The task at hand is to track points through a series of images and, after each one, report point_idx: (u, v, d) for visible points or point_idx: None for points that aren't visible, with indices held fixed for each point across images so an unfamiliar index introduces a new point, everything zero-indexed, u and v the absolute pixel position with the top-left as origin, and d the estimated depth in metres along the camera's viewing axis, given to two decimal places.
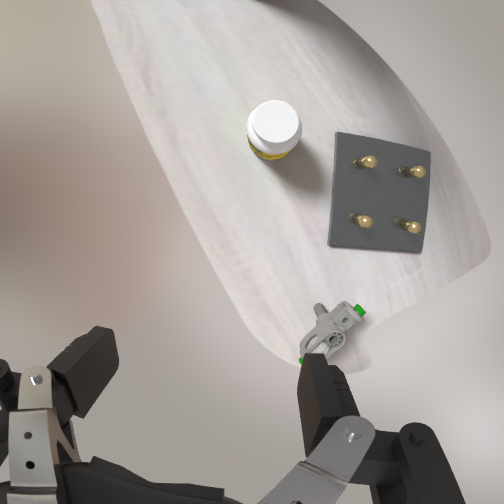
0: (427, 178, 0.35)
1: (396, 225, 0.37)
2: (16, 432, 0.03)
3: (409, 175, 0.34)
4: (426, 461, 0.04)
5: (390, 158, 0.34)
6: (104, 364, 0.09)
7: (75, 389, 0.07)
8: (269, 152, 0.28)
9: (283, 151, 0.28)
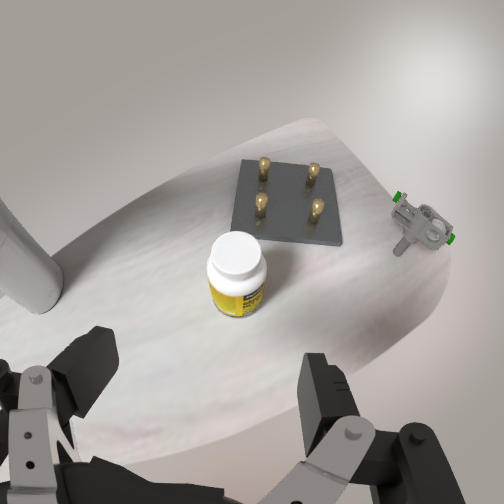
0: None
1: (313, 188, 0.44)
2: (16, 432, 0.03)
3: (267, 174, 0.44)
4: (426, 461, 0.04)
5: (253, 190, 0.43)
6: (104, 364, 0.09)
7: (75, 389, 0.07)
8: (265, 272, 0.27)
9: (264, 258, 0.28)
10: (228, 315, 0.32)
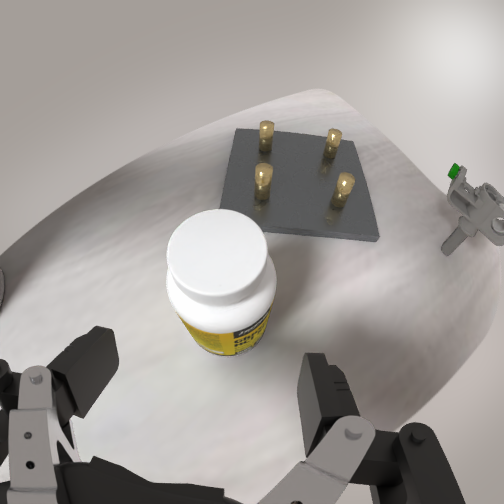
0: None
1: (333, 163, 0.31)
2: (16, 432, 0.03)
3: (270, 144, 0.31)
4: (426, 461, 0.04)
5: (251, 165, 0.30)
6: (104, 364, 0.09)
7: (75, 389, 0.07)
8: (275, 286, 0.15)
9: (272, 261, 0.15)
10: (212, 352, 0.19)
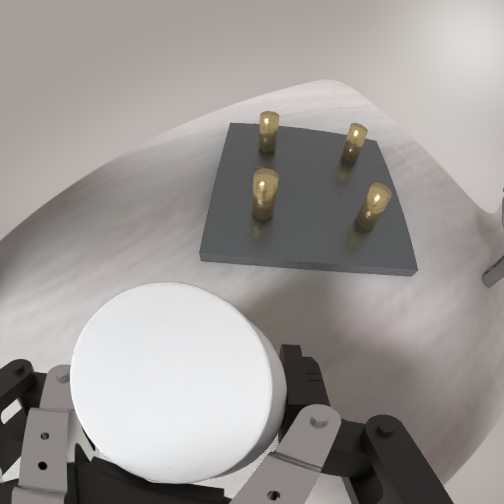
0: None
1: (355, 168, 0.23)
2: (33, 431, 0.04)
3: (274, 143, 0.23)
4: (397, 453, 0.05)
5: (248, 170, 0.22)
6: None
7: None
8: (284, 411, 0.07)
9: (279, 363, 0.08)
10: None
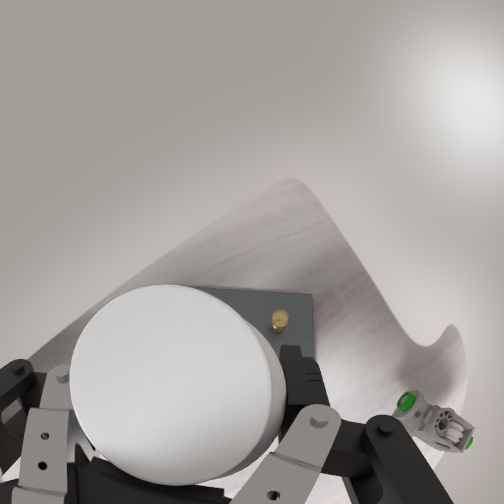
0: (209, 291, 0.31)
1: (279, 341, 0.28)
2: (33, 431, 0.04)
3: None
4: (397, 453, 0.05)
5: None
6: None
7: None
8: (283, 412, 0.07)
9: (279, 365, 0.08)
10: None
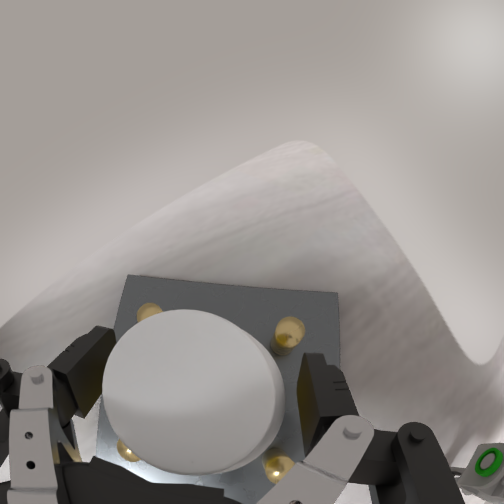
0: (178, 285, 0.20)
1: (285, 367, 0.17)
2: (17, 432, 0.03)
3: None
4: (425, 461, 0.04)
5: None
6: (105, 364, 0.09)
7: (76, 389, 0.07)
8: (283, 413, 0.08)
9: (279, 373, 0.09)
10: None
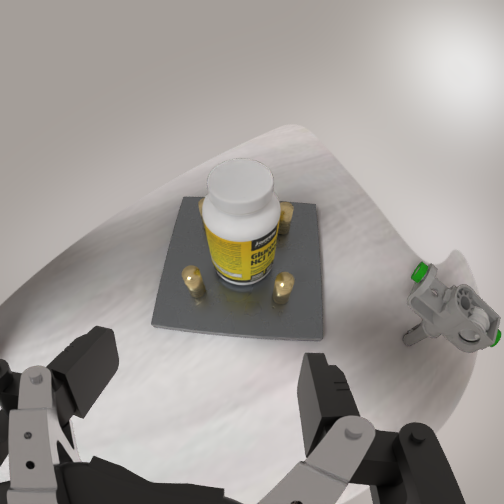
0: None
1: (285, 240, 0.29)
2: (16, 432, 0.03)
3: None
4: (426, 461, 0.04)
5: (191, 250, 0.28)
6: (104, 364, 0.09)
7: (75, 389, 0.07)
8: (279, 210, 0.21)
9: (276, 196, 0.22)
10: (232, 279, 0.25)
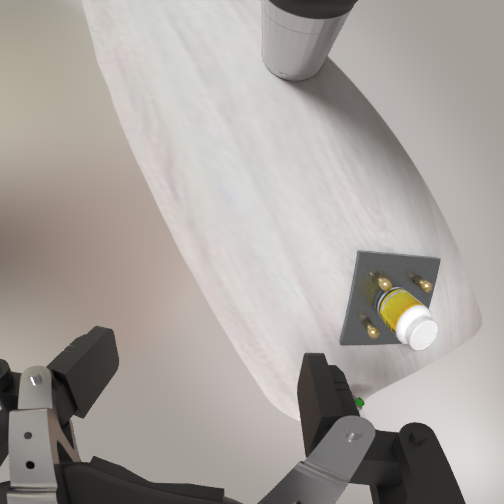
0: (433, 283, 0.39)
1: None
2: (16, 432, 0.03)
3: (417, 286, 0.39)
4: (426, 461, 0.04)
5: (403, 271, 0.39)
6: (104, 364, 0.09)
7: (75, 389, 0.07)
8: (407, 344, 0.33)
9: None
10: (381, 302, 0.39)
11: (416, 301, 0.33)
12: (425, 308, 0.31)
